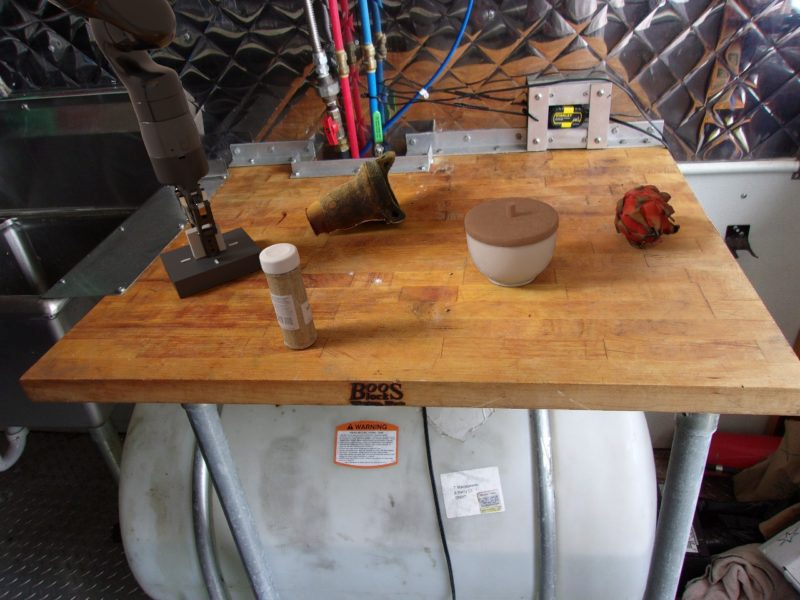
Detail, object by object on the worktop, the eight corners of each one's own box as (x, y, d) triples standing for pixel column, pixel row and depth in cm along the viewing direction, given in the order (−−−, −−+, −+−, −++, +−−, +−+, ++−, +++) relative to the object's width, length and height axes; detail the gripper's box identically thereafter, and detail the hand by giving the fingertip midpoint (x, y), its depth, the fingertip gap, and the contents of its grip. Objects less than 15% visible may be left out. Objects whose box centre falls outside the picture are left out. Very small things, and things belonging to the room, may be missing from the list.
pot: (289, 169, 104) (381, 123, 101) (318, 209, 113) (403, 168, 110) (305, 236, 93) (407, 187, 91) (336, 274, 102) (429, 231, 100)
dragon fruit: (635, 226, 95) (651, 274, 86) (594, 202, 92) (606, 249, 84) (676, 188, 89) (698, 235, 81) (634, 162, 87) (651, 207, 78)
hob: (180, 298, 89) (173, 281, 87) (165, 269, 97) (158, 253, 95) (267, 267, 94) (262, 250, 92) (245, 242, 102) (241, 226, 100)
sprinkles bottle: (325, 338, 76) (304, 248, 69) (296, 355, 74) (272, 265, 66) (304, 325, 79) (282, 237, 72) (276, 341, 77) (251, 253, 69)
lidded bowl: (550, 302, 78) (553, 228, 71) (458, 293, 82) (453, 222, 75) (560, 254, 87) (564, 185, 81) (477, 249, 91) (474, 182, 85)
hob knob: (195, 259, 92) (186, 232, 89) (193, 255, 93) (184, 229, 91) (226, 249, 94) (218, 222, 91) (223, 245, 95) (215, 219, 92)
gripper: (139, 141, 88) (175, 240, 97) (158, 166, 77) (197, 275, 87) (188, 128, 91) (219, 226, 100) (213, 151, 80) (245, 258, 89)
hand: (208, 248), depth 93 cm, fingers open, 5 cm apart
